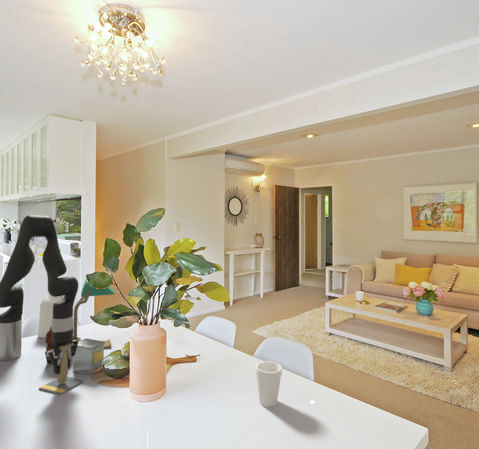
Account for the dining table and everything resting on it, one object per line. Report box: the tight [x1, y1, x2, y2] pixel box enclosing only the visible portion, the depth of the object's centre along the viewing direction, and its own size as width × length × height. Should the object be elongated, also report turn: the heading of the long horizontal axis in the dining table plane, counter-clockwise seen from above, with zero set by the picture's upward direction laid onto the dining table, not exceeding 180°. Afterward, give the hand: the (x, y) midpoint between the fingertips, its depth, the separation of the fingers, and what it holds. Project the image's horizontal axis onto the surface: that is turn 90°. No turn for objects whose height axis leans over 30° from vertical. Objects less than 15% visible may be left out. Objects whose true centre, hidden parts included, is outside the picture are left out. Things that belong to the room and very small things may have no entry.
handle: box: [56, 342, 71, 383], centre depth 127 cm, size 5×6×15 cm
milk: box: [37, 293, 65, 339], centre depth 183 cm, size 12×12×26 cm
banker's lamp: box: [72, 278, 116, 353], centre depth 165 cm, size 16×21×35 cm
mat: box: [38, 375, 85, 396], centre depth 127 cm, size 11×11×1 cm
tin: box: [72, 338, 105, 376], centre depth 141 cm, size 11×8×12 cm
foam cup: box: [255, 360, 283, 408], centre depth 118 cm, size 10×9×13 cm
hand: (62, 371), depth 127 cm, fingers open, 4 cm apart
